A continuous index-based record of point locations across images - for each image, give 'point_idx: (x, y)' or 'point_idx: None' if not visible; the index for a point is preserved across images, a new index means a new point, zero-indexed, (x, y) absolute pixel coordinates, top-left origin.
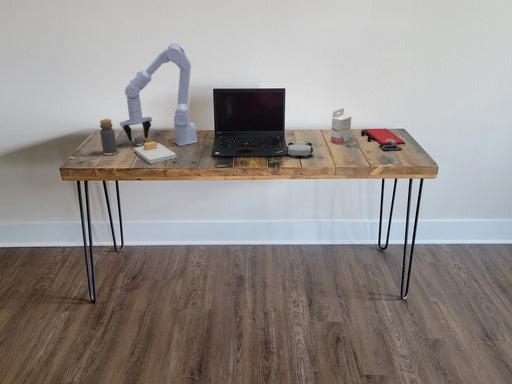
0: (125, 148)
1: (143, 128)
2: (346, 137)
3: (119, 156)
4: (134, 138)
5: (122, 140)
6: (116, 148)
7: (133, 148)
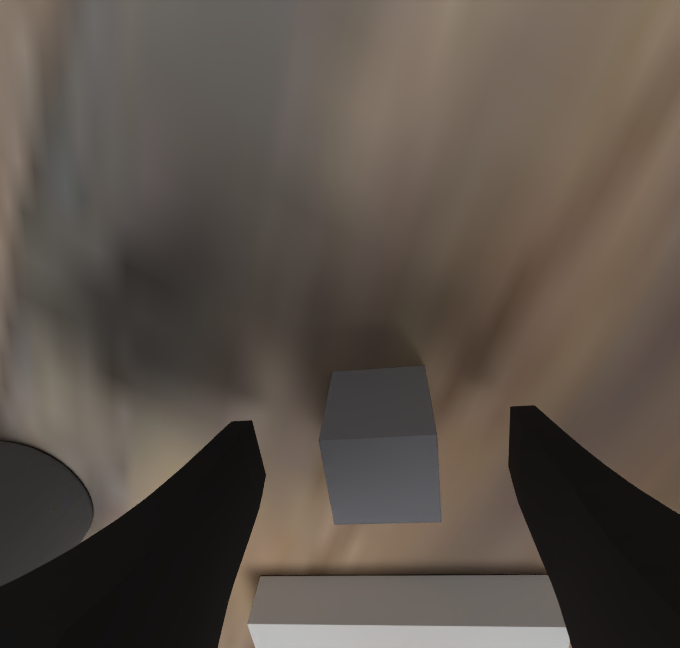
0: (190, 440)
1: (585, 510)
2: None
3: None
4: (321, 432)
5: (178, 64)
6: None
7: (248, 620)
